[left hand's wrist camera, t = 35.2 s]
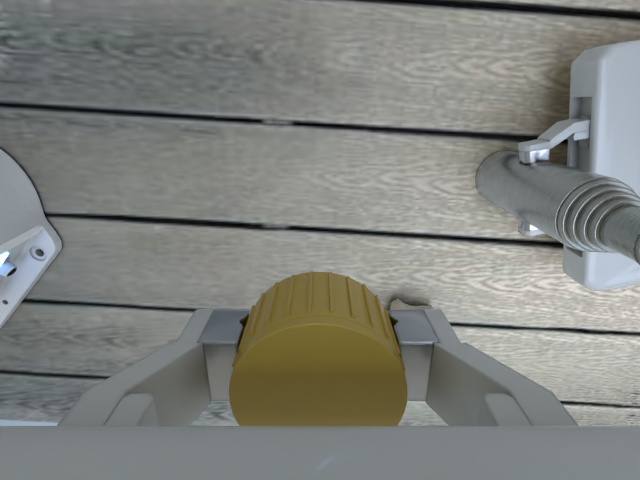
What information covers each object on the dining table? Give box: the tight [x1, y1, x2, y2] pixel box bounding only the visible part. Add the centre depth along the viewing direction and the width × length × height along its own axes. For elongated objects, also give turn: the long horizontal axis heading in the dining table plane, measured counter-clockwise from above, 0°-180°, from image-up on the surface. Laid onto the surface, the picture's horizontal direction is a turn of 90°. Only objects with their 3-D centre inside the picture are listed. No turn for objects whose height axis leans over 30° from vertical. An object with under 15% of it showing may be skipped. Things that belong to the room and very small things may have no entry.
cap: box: [229, 272, 408, 426], centre depth 9 cm, size 4×4×2 cm
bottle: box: [476, 151, 640, 265], centre depth 27 cm, size 5×5×19 cm
